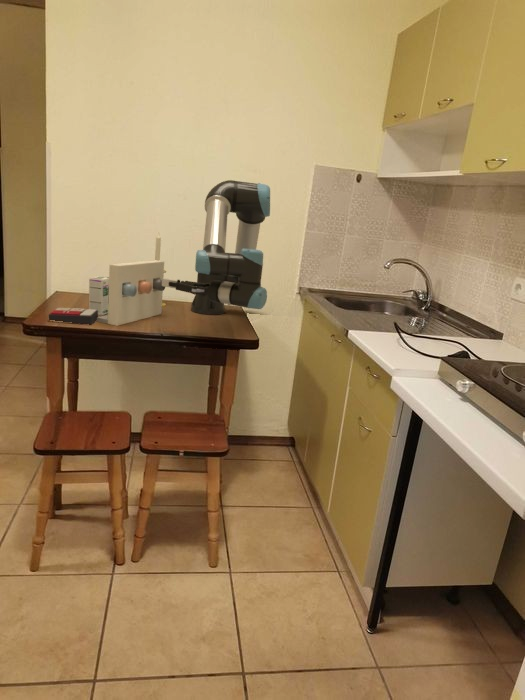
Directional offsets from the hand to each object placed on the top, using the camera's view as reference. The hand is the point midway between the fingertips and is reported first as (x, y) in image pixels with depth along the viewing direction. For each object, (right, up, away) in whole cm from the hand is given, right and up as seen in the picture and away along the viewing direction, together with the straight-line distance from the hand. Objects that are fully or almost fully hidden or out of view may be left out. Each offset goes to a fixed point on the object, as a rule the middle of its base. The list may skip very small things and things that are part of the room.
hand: (163, 282), depth 183 cm
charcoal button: (-7, 0, +25) cm, 26 cm away
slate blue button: (-14, -4, +7) cm, 16 cm away
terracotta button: (-11, -2, +16) cm, 19 cm away
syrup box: (-30, -10, +21) cm, 38 cm away
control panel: (-17, -11, +21) cm, 29 cm away
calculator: (-35, -14, +7) cm, 38 cm away
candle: (-14, -4, +51) cm, 53 cm away
